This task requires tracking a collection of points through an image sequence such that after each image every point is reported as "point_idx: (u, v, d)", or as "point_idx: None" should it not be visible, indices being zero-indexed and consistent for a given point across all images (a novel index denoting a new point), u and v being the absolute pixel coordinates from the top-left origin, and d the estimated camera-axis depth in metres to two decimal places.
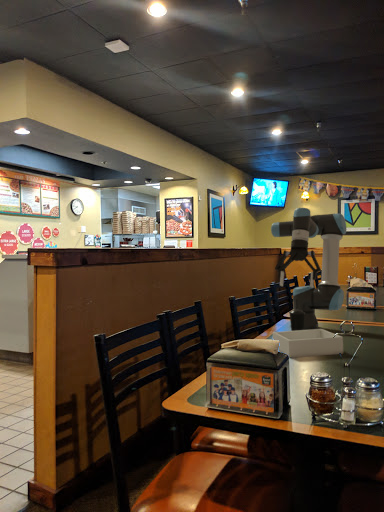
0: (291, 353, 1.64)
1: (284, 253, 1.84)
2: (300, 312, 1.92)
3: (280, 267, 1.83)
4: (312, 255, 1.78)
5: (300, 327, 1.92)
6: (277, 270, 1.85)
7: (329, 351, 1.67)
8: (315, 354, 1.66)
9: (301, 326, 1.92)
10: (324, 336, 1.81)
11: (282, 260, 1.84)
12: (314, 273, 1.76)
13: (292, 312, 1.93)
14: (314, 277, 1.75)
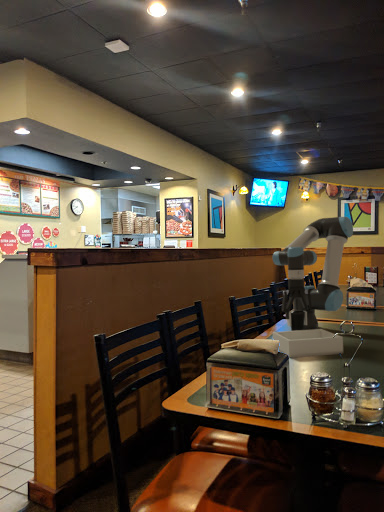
0: (291, 353, 1.64)
1: (285, 294, 1.93)
2: (300, 312, 1.92)
3: (287, 309, 1.93)
4: (308, 295, 1.95)
5: (300, 327, 1.92)
6: (284, 311, 1.94)
7: (329, 351, 1.67)
8: (315, 354, 1.66)
9: (301, 326, 1.92)
10: (324, 336, 1.81)
11: (286, 301, 1.93)
12: (307, 312, 1.95)
13: (292, 312, 1.93)
14: (307, 316, 1.95)
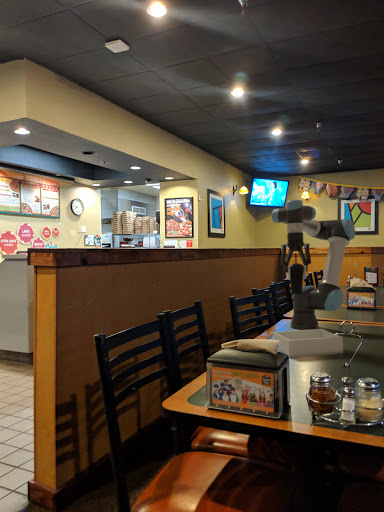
0: (291, 353, 1.64)
1: (285, 247, 1.92)
2: (299, 265, 1.92)
3: (286, 262, 1.93)
4: (307, 248, 1.94)
5: (299, 280, 1.92)
6: (283, 264, 1.94)
7: (329, 351, 1.67)
8: (315, 354, 1.66)
9: (300, 279, 1.92)
10: (324, 336, 1.81)
11: (285, 254, 1.93)
12: (306, 266, 1.95)
13: (291, 265, 1.93)
14: (306, 270, 1.95)
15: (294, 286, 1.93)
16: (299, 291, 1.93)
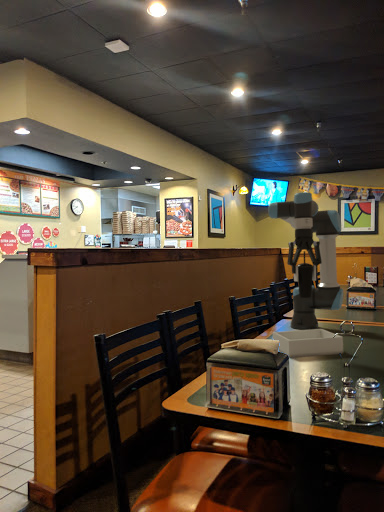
0: (291, 353, 1.64)
1: (292, 245, 1.72)
2: (308, 265, 1.71)
3: (294, 262, 1.72)
4: (318, 246, 1.74)
5: (308, 282, 1.71)
6: (290, 264, 1.73)
7: (329, 351, 1.67)
8: (315, 354, 1.66)
9: (309, 281, 1.71)
10: (324, 336, 1.81)
11: None
12: (316, 266, 1.74)
13: (299, 265, 1.72)
14: (316, 270, 1.74)
15: (303, 289, 1.72)
16: (308, 294, 1.72)
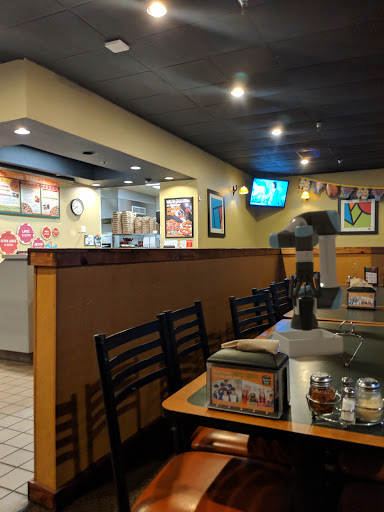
0: (291, 353, 1.64)
1: (293, 278, 1.72)
2: (309, 298, 1.71)
3: (295, 295, 1.72)
4: (318, 279, 1.74)
5: (309, 315, 1.71)
6: (291, 297, 1.73)
7: (329, 351, 1.67)
8: (315, 354, 1.66)
9: (310, 314, 1.72)
10: (324, 336, 1.81)
11: None
12: (317, 299, 1.74)
13: (300, 298, 1.72)
14: (317, 303, 1.74)
15: (303, 322, 1.72)
16: (309, 327, 1.72)
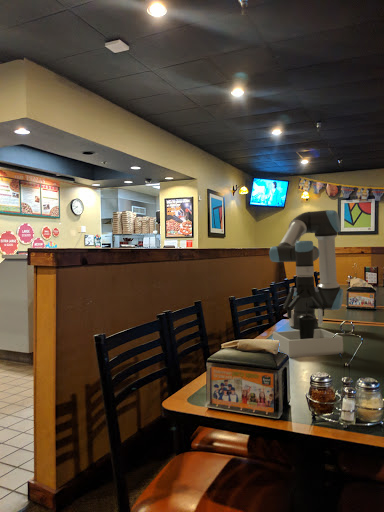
0: (291, 353, 1.64)
1: (292, 291, 1.72)
2: (310, 317, 1.71)
3: (290, 307, 1.72)
4: (320, 292, 1.74)
5: (310, 334, 1.72)
6: (285, 309, 1.73)
7: (329, 351, 1.67)
8: (315, 354, 1.66)
9: (311, 333, 1.72)
10: (324, 336, 1.81)
11: None
12: (323, 310, 1.75)
13: (301, 317, 1.72)
14: (323, 314, 1.75)
15: None
16: None
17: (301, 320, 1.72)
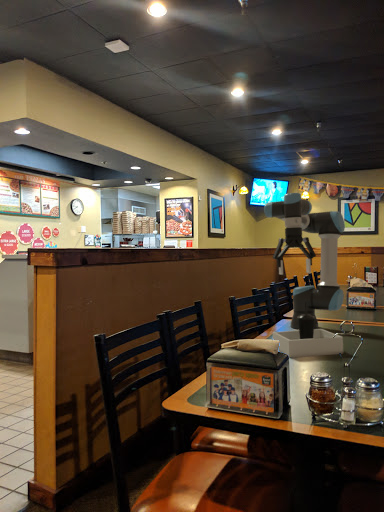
0: (291, 353, 1.64)
1: (282, 241, 1.80)
2: (310, 317, 1.71)
3: (279, 256, 1.80)
4: (308, 242, 1.83)
5: (310, 334, 1.72)
6: None
7: (329, 351, 1.67)
8: (315, 354, 1.66)
9: (311, 333, 1.72)
10: (324, 336, 1.81)
11: (280, 249, 1.80)
12: (310, 259, 1.84)
13: (301, 317, 1.72)
14: (311, 263, 1.84)
15: None
16: None
17: (300, 320, 1.72)
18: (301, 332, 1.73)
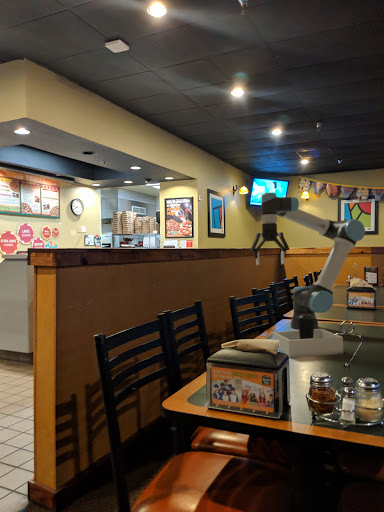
0: (291, 353, 1.64)
1: (258, 235, 2.04)
2: (310, 317, 1.71)
3: (256, 248, 2.04)
4: (282, 236, 2.06)
5: (310, 334, 1.72)
6: None
7: (329, 351, 1.67)
8: (315, 354, 1.66)
9: (311, 333, 1.72)
10: (324, 336, 1.81)
11: (257, 242, 2.04)
12: (284, 252, 2.07)
13: (301, 317, 1.72)
14: (285, 255, 2.07)
15: None
16: None
17: (300, 320, 1.72)
18: (301, 332, 1.73)
